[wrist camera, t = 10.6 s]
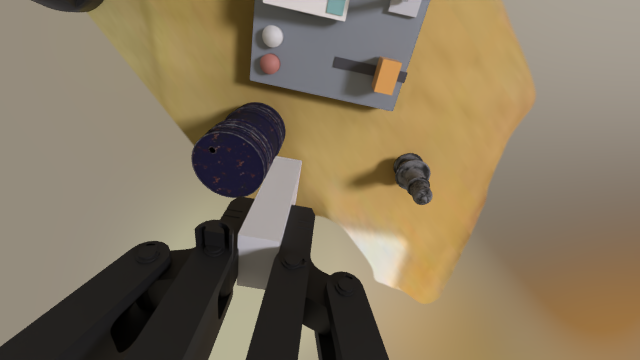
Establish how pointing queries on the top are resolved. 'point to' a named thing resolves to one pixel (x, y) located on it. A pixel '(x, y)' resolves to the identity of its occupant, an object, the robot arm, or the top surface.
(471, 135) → the top surface
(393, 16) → the panel
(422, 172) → the chess piece
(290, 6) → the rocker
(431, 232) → the top surface
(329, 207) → the top surface
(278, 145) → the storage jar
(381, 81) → the slider
